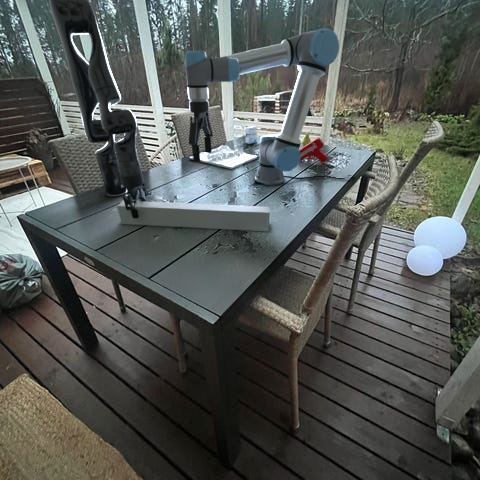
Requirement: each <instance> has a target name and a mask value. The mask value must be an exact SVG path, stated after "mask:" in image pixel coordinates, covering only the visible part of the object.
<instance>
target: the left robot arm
mask: <svg viewBox="0 0 480 480" xmlns="http://www.w3.org/2000/svg"><path fill="white" fill-rule="evenodd" d="M48 1H49V8H50V12H51V16H52V19H53V22H54V25H55V27H56V30H57V33H58V37H59V41H60V42H61V46H62V48H63V52H64V55H65V59H66V63H67V67H68V71H69V76H70V80H71V84H72V88H73V90H74V93H75V97H76V101H77V103H78V106H79V107H78V108H79V111H80V116H81V120H82V125H83V131H84V134H85V137H86V139H87V141H88V142H90V143H91V144H99V143H106V144H105V145H104V146H103V147H102V148H100V149H97V150H96V151H95V158H96V162H97V164H98V168H99V172H100V176H101V178H102V182H103V185H104V189H105V193H106V196H108V197H112V198H115V197H122V200H123V201H124V203H125V207H126V210H131V214H132V217H133V218H135V219H138V218H139V215H138V211H137V203H138V201H146V202H147V197H149V195H148V190H147V185H146V182H145V179H144V175H143V170H142V166H141V163H140V159H139V154H138V150H137V127H138V122H137V118H136V116H135V114H134V113H133V111H132V110H131V109H128V108H122V109H112V110H111V108H110V107H111V106H115V105H116V104H118V103H120V101H121V99H122V96H121V93H120V91H119V89H118V86H117V83H116V80H115V78H114V76H113V73H112V70H111V67H110V64H109V60H108V57H107V52H106V48H105V45H104V41H103V37H102V34H101V31H100V27H99V24H98V20H97V17H96V14H95V10H94V8H93V6H92V4H91V2H90V0H48ZM78 35H88V36H89V39H90V44H91V49H90V56H89V60H88V59H87V58H86V56H84V55H83V53H82V52H81V51H80V49H79V48H78V47H77V45H76V43H75V42H74V40H73V36H78ZM97 107H98V108H99V116H100V118H95V119H94V118H93V116H94V112H95V110H96V109H97ZM122 134H124V135H123V138H122V139H120V140H117V141H116V140H115V136H116V135H122ZM133 203H134V206H133ZM128 205H129V206H128Z"/></svg>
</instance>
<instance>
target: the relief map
mask: <svg viewBox="0 0 480 480" xmlns="http://www.w3.org/2000/svg"><path fill="white" fill-rule="evenodd" d="M256 159H258V155H256V154H249V153H246V152H245V151H244V149H242V148H238V149H235V150H233V149H231V148H230V147H229V146H228V145H227V144H225V145H224V144H221V145H220V146H219V147H216V148H213V149H212V153H205V151H204V152H202V151H200V162H201V163H204V164H209V165H214V166H217V167H222V168H226V169H230V170H233V169H235V168H237V167H240V166H241V165H244V164H247V163H250V162H252V161H254V160H256ZM189 160H193V155H192V156H189ZM200 162H199V163H200Z"/></svg>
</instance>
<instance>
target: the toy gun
mask: <svg viewBox="0 0 480 480" xmlns="http://www.w3.org/2000/svg"><path fill="white" fill-rule="evenodd" d="M324 145H325V143H324V142H323V140H322V138H321V137H320V136H318V137H316V138H314V139H313V140H311V142H310V143H309V144H307V145H306V146H302V147H301V148H299V151H300V154H301V158H300V160H302V161H303V160H305V159H306V158H309V160H313V159H314V158H316V159H317V160H319V161H320V163H321V162H324V163H325V161H326V163H327V162H328V159H329V156H328V155H327V154H326V153H325V152H323V151H322V150H321V149H323V147H324ZM324 163H321V165H323V164H324Z"/></svg>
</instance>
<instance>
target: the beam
mask: <svg viewBox="0 0 480 480" xmlns="http://www.w3.org/2000/svg"><path fill="white" fill-rule="evenodd" d="M128 206H129V205H128ZM133 206H134V203H133ZM116 209H117V212H118V215H119V220H120V222H121V225H134V226H135V225H136V226H153V227H154V226H156V227H176V228H191V229H192V228H193V229H194V228H195V229H211V230H212V229H215V230H232V231H233V230H234V231H251V232H252V231H253V232H269V231H270V217H271V206H267V205H265V206H262V205H240V204H239V205H238V204H217V203H216V204H215V203H192V202H191V203H190V202H171V201H170V202H166V201H147V200H146V201H140V200H138V203H137V211H138V215H139V218H138V219H135V218H133V217H132V214H131V210H126V207H125V203H124V200H122V201H121V202H120V203H118V204H117V205H116Z"/></svg>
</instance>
